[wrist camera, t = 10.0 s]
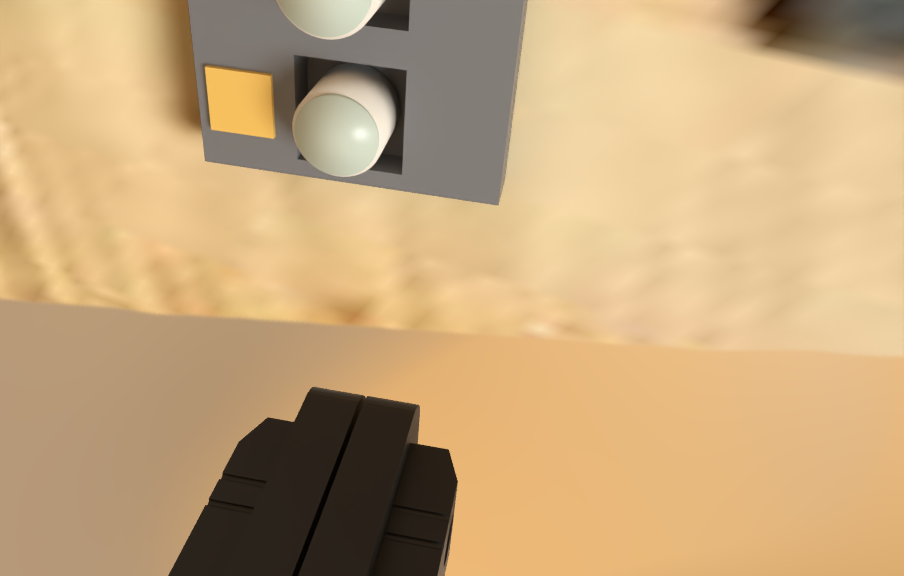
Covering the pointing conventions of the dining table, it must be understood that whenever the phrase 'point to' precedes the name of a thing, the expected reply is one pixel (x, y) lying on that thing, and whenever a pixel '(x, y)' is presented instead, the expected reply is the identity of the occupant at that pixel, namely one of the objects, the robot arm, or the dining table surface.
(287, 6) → the button
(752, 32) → the dining table surface
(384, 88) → the button
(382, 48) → the button board
